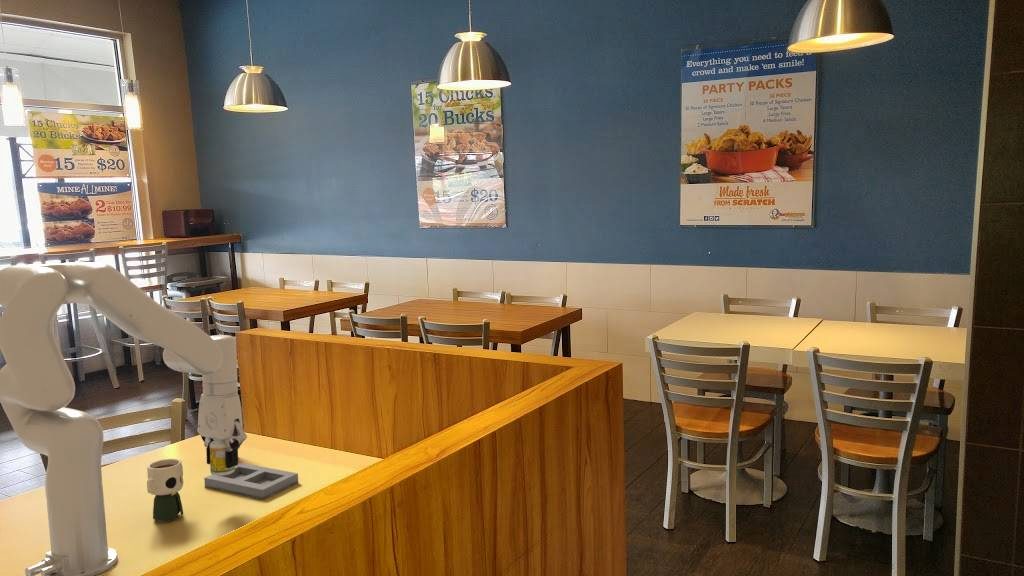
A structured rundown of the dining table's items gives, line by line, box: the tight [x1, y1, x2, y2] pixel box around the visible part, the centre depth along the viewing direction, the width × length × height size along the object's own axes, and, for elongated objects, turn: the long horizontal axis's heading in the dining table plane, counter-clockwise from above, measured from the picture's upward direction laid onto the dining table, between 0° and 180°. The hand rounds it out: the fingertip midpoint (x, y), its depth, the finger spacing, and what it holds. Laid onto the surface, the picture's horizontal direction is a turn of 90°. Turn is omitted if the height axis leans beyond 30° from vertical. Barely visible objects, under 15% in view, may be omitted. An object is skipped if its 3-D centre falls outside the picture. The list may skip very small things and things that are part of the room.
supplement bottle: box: [209, 438, 235, 476], centre depth 170 cm, size 5×5×10 cm
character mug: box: [146, 458, 184, 523], centre depth 165 cm, size 11×7×13 cm, turn 166°
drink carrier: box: [203, 462, 299, 500], centre depth 185 cm, size 12×20×2 cm, turn 64°
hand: (222, 463), depth 170 cm, fingers closed on supplement bottle, 5 cm apart
